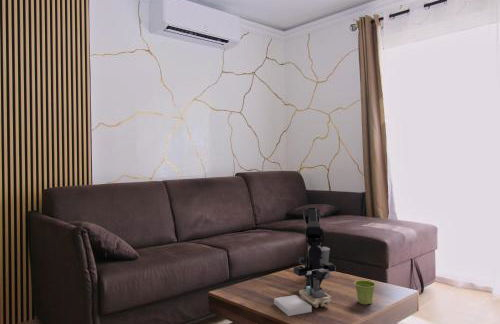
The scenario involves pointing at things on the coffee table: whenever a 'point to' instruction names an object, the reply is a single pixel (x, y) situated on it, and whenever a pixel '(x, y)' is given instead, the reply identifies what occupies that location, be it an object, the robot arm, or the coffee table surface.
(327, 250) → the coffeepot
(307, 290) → the teal block
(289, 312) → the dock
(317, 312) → the coffee table surface
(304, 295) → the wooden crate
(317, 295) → the charcoal block
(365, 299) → the plant pot
